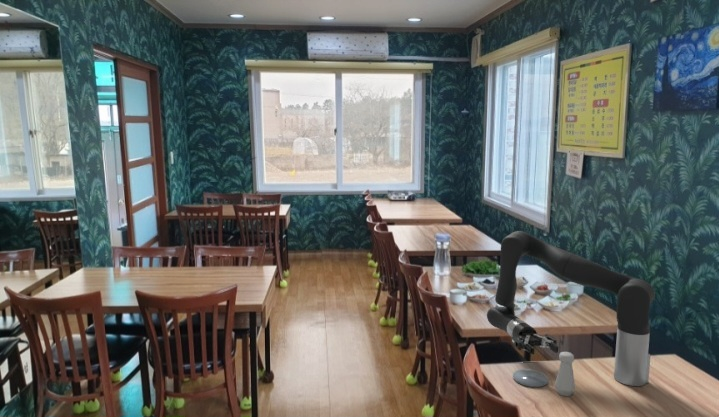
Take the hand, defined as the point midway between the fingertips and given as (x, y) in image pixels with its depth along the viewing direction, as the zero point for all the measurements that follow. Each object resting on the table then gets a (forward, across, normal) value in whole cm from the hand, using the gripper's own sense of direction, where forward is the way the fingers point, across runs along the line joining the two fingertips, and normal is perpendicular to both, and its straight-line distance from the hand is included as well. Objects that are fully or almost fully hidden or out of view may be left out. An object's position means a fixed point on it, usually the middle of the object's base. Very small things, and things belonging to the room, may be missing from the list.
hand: (545, 350), depth 166 cm
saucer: (+2, -6, +9) cm, 11 cm away
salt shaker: (+12, 0, +9) cm, 15 cm away
